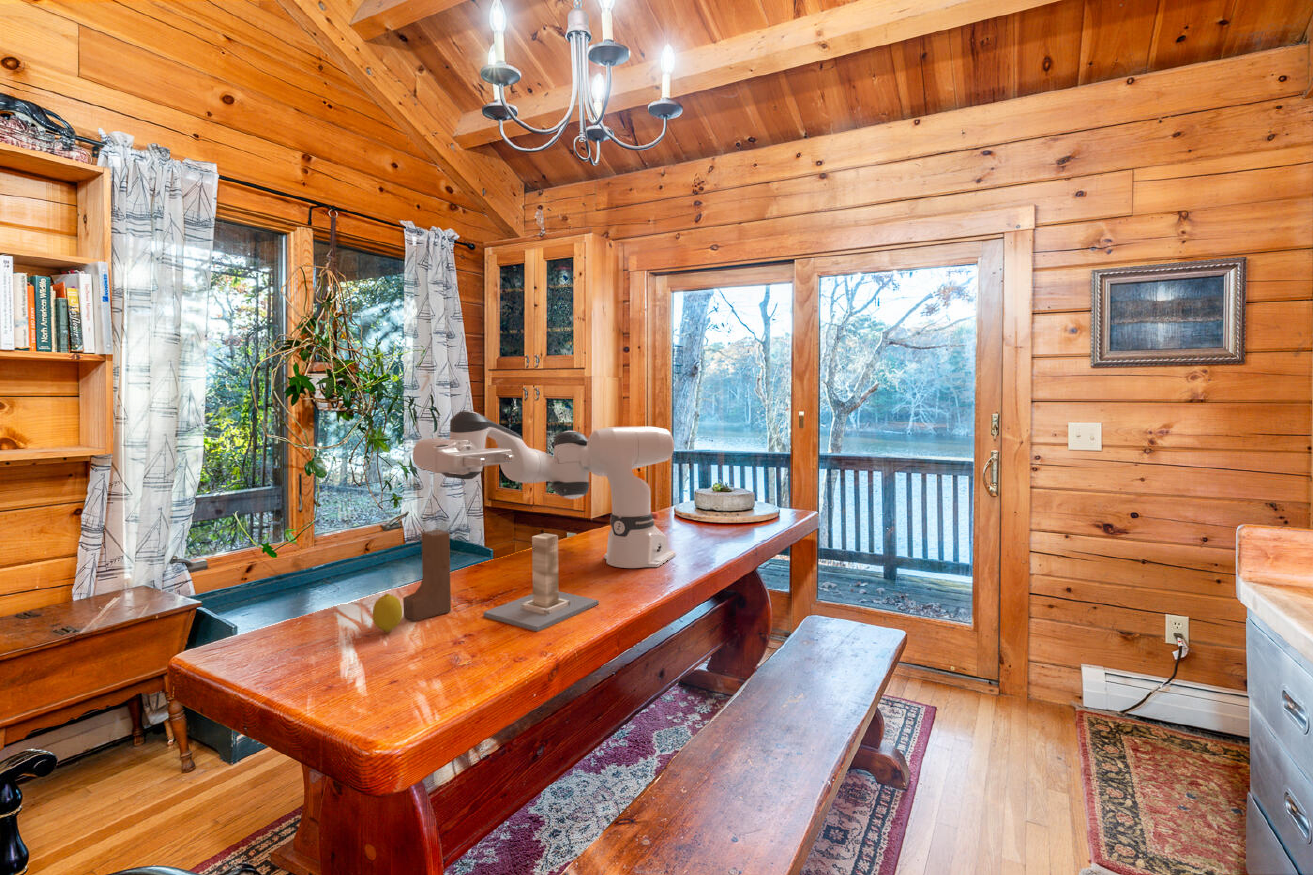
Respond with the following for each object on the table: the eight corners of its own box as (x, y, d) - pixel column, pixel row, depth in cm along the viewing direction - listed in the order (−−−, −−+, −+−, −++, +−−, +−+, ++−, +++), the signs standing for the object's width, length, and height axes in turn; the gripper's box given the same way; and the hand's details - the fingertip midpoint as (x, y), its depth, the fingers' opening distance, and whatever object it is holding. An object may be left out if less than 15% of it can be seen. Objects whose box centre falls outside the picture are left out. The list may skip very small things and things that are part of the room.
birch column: (545, 602, 145) (544, 533, 144) (558, 605, 143) (558, 535, 142) (532, 607, 142) (532, 536, 140) (546, 611, 139) (545, 538, 138)
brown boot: (412, 622, 135) (410, 538, 134) (403, 617, 138) (400, 535, 137) (451, 612, 142) (450, 532, 140) (441, 607, 145) (439, 529, 143)
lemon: (373, 629, 131) (372, 591, 130) (402, 625, 133) (401, 588, 133) (373, 639, 126) (371, 599, 125) (403, 635, 128) (402, 596, 128)
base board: (546, 592, 155) (546, 584, 155) (598, 604, 147) (598, 596, 147) (483, 616, 139) (483, 607, 139) (537, 631, 130) (537, 622, 130)
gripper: (491, 465, 173) (528, 469, 165) (426, 473, 156) (465, 477, 148) (490, 442, 172) (527, 444, 165) (426, 447, 155) (464, 450, 148)
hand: (497, 460), depth 156 cm, fingers open, 8 cm apart
